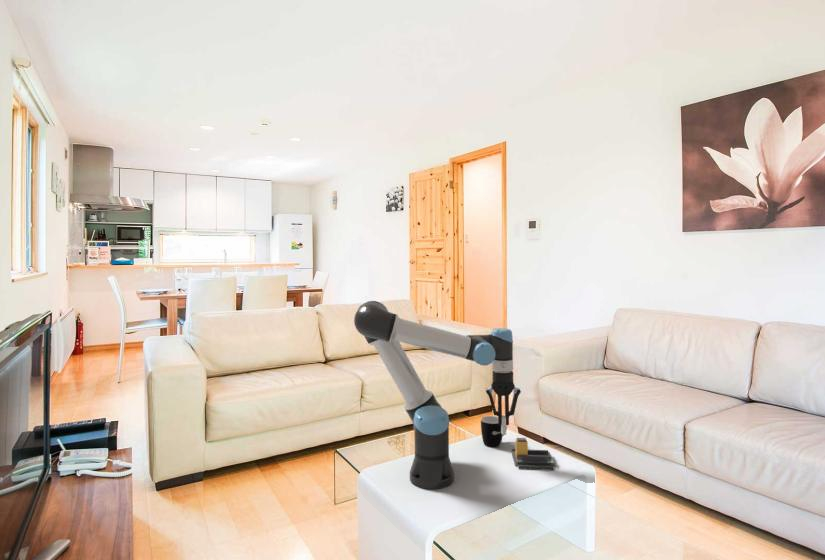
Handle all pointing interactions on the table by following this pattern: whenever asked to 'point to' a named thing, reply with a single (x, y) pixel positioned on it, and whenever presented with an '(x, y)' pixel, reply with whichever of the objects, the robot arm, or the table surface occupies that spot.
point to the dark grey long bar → (536, 467)
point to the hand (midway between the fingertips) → (503, 433)
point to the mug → (491, 431)
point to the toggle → (521, 446)
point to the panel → (534, 458)
